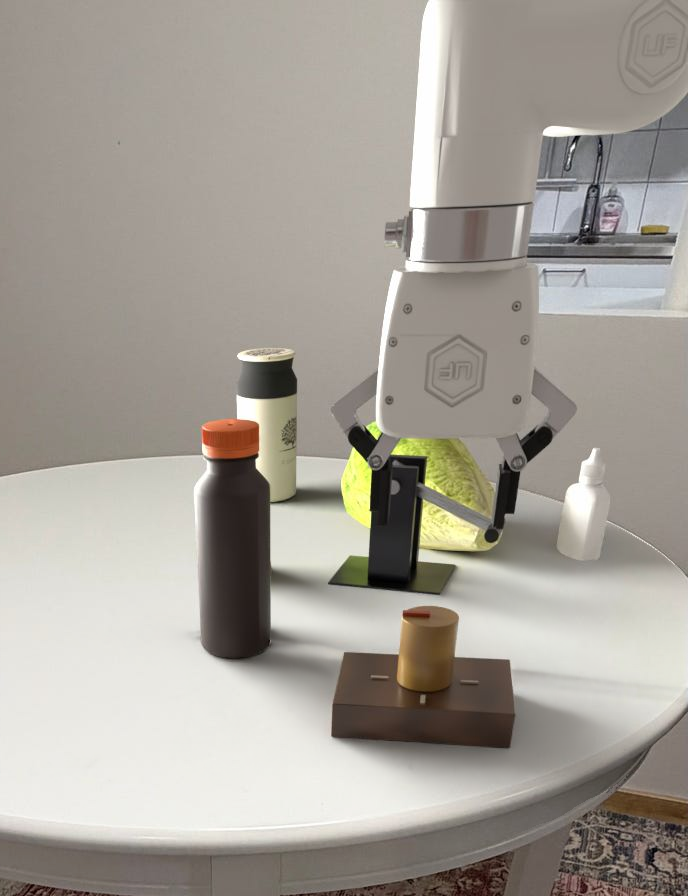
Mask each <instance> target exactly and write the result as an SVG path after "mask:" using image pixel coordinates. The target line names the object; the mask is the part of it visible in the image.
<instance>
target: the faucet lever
mask: <svg viewBox="0 0 688 896" xmlns="http://www.w3.org/2000/svg"><path fill="white" fill-rule="evenodd" d="M393 465H404V464H402V463H400V462H398V461H396V460H395V461H394V462H393ZM404 466H406V465H404ZM417 496H418V497H420V498H422V499H424V500H426V501H428V502H430V503H432V504H434V505H436V506H438V507H440V508H442V509H443V510H445V511H447V512H449V513H451V514H453V515H455V516H457V517H459V518H461V519H463V520H465V521H467V522H469V523H471V524H473V525H475V526H477V527H479V528H481V529H482V530H484V531H486V532H485V534H484V538H485V540H486V541H487V542H488V543H494V542H496V541H497V540H498V538H499V536H500V534H501V532H502V530H503V531H504V528H505V526H506V522H507V519H506V518H505V519H504V526H503V529H495V527H493V523H492V519H490V518H488V517H486V516H484V515H482V514H480V513H478V512H476V511H474V510H472V509H470V508H468V507H467V506H465V505H463V504H461V503H459V502H457V501H455V500H453V499H451V498H449V497H447V496H445V495H443V494H441V493H439V492H437V491H435V490H433V489H431V488H429V487H427V486H425V485H424V484H422V483H420V482H418V485H417Z"/></svg>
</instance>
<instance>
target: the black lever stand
mask: <svg viewBox="0 0 688 896" xmlns="http://www.w3.org/2000/svg"><path fill="white" fill-rule="evenodd" d="M395 460H396V461H398V462H400V463H402V464H404V465H406V466H404V465H393V470H392V484H391V499H390V513H389V519H388V525H385V527H378V512H371V523H370V528H369V540H368V556H361V555H349V556H348V557H347V558H346V559H345V561H344V562H343V563H342V565H341V566H340V567H339V568H338V570H336V572H335V573H334V574H333V575H332V577H331V578H330V579H329V581H328V582H327V585H331V586H341V587H352V588H362V589H374V590H384V591H393V592H403V593H414V594H424V595H433V596H441V594H442V592H443V590H444V589H445V587H446V585H447V583H448V581H449V579H450V577H451V576H452V574H453V572H454V570H455V568H456V564H454V563H442V562H433V561H432V562H430V561H421V560H420V561H419V554H420V547H419V545H420V533H421V522H422V511H423V499H422V498H420V497H418V496H417V485H418V482H420V483H422V484H424V485H425V476H426V465H427V456H411V455H390V463H393V462H394V461H395Z"/></svg>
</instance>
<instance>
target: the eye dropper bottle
mask: <svg viewBox="0 0 688 896" xmlns="http://www.w3.org/2000/svg"><path fill="white" fill-rule="evenodd" d="M580 466H581V467H580V472H579V478H578V482H576V483H572V484H570V485H569V486H568V488H567V489H566V491H565V495H564V496H565V497H564V501H563V506H562V513H561V518H560V523H559V530H558V536H557V541H556V550H557V551H559V553H560V554H562V555H564V556H566V557H568V558H570V559H573V560H577V561H580V562H589V561H590V562H591V561H598V560H600V556H601V551H602V547H603V541H604V536H605V533H606V526H607V522H608V517H609V512H610V506H611V496H610V493H609V491H608V490H607V488H606V487H605V486H604V485H603V484H602V483H603V482H604V477H605V472H606V468H607V462H606V461H604V460H603V459H602V458H601V448H600V447H593V448H592V451H591V454H590V456H589V457H588V459H584V460H583V461H582V462H581V465H580Z"/></svg>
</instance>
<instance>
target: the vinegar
mask: <svg viewBox="0 0 688 896" xmlns="http://www.w3.org/2000/svg"><path fill="white" fill-rule="evenodd" d="M201 440H202V441H201V442H202V454H203V460H204V461H205V462H206V470H205V472H204V473H203V474H202V475H201V477H200V478H199V479H198V481H197V482H196V483H195V485H194V488H193V502H194V503H193V504H194V523H195V524H194V525H195V544H196V545H195V547H196V563H197V564H196V566H197V585H198V587H197V588H198V605H199V606H198V607H199V625H200V644H201V646H202V648H203V650H204V651H205V652H207V653H209V654H210V655H213V656H216V657H219V658H226V659H243V658H250V657H253V656H256V655H259V654H261V653H263V652H264V651H266V650H267V649H268V648H269V646H270V645H271V640H272V639H271V636H272V635H271V634H272V625H271V624H272V623H271V621H272V620H271V619H272V617H271V616H272V609H271V608H272V607H271V606H272V605H271V604H272V601H271V599H272V597H271V595H272V591H271V588H272V585H271V582H272V581H271V580H272V579H271V578H272V575H271V567H272V560H271V502H270V484H269V482H268V481H267V479H266V478H265V477H264V476H263V475H262V474H261V473H260V472H259V471H258V470H257V468H256V459H257V458H258V457H259V454H258V452H259V424H258V423H257V422H255V421H252V420H246V419H237V418H225V419H217V420H212V421H209V422H206V423H204V424H203V425H202V426H201Z"/></svg>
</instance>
